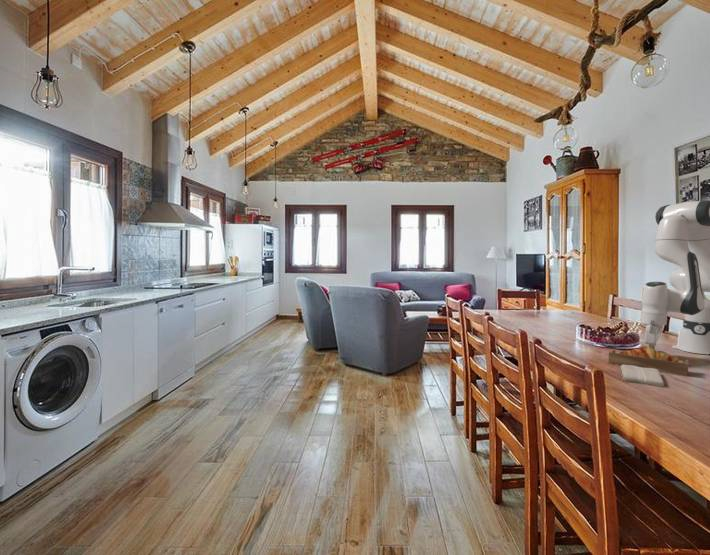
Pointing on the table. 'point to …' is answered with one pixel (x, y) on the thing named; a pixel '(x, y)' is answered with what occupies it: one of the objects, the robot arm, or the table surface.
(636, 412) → the table surface
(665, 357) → the croissant
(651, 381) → the washcloth
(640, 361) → the frame
